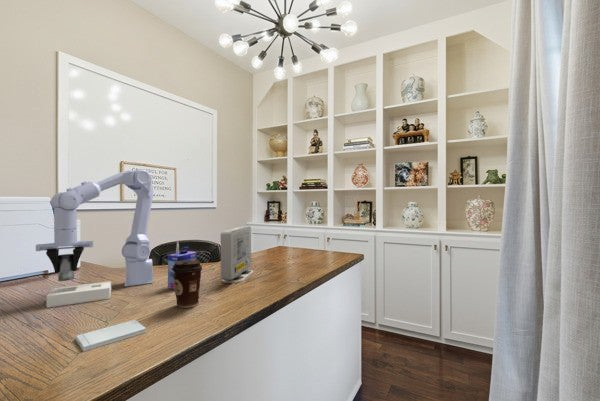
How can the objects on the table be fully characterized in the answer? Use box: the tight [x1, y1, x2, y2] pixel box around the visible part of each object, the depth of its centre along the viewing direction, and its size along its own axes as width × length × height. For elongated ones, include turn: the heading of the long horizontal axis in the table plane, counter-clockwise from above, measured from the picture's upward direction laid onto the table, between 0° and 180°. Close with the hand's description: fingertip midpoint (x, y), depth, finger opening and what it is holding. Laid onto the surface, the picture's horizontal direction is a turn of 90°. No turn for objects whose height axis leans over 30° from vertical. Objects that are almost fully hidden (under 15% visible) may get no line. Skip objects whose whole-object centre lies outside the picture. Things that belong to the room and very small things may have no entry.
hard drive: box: [75, 319, 147, 352], centre depth 70 cm, size 2×8×12 cm
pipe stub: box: [57, 253, 75, 282], centre depth 97 cm, size 4×4×8 cm
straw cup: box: [167, 246, 198, 290], centre depth 112 cm, size 10×6×14 cm, turn 158°
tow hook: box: [175, 240, 180, 253], centre depth 148 cm, size 8×13×9 cm
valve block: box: [46, 280, 112, 309], centre depth 98 cm, size 16×10×4 cm, turn 120°
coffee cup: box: [172, 260, 203, 309], centre depth 91 cm, size 9×8×13 cm
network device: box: [220, 225, 254, 284], centre depth 124 cm, size 26×9×20 cm, turn 172°
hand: (66, 271), depth 96 cm, fingers closed on pipe stub, 4 cm apart
